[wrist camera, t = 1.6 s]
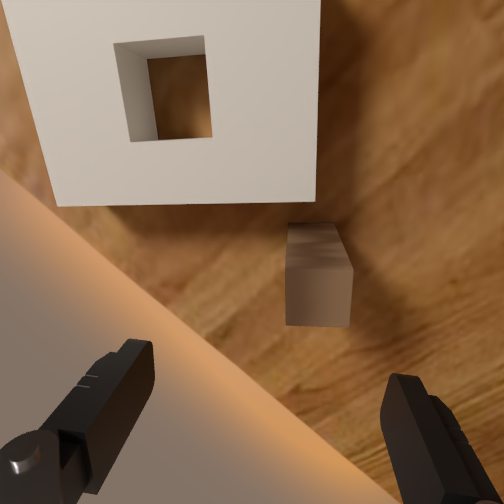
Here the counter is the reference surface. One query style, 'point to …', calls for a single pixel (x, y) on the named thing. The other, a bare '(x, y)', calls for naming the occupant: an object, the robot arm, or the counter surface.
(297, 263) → the peg
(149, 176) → the socket board
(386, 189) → the counter surface
